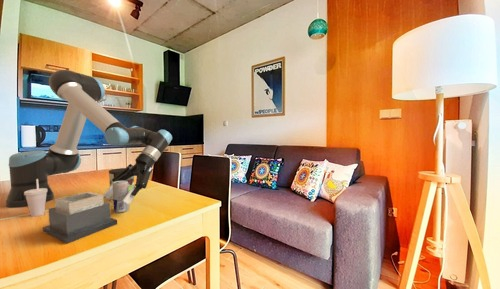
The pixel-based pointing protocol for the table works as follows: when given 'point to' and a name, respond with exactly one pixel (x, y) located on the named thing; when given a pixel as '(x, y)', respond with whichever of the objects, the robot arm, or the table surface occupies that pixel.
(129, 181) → the coffee can
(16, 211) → the table surface
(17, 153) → the robot arm
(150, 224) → the table surface
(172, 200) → the table surface
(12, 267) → the table surface
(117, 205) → the energy drink
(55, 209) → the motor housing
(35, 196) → the smoothie
